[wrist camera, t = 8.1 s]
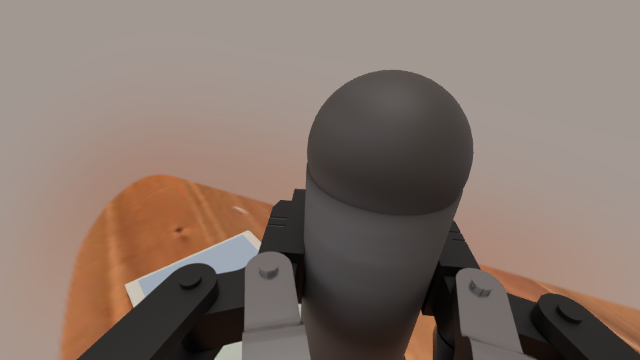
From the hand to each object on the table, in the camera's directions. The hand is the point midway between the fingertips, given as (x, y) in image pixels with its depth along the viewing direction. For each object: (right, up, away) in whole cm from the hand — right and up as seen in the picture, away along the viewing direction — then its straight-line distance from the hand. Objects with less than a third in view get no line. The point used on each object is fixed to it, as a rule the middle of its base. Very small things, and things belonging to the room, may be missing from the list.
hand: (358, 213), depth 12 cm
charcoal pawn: (0, -7, +1) cm, 7 cm away
